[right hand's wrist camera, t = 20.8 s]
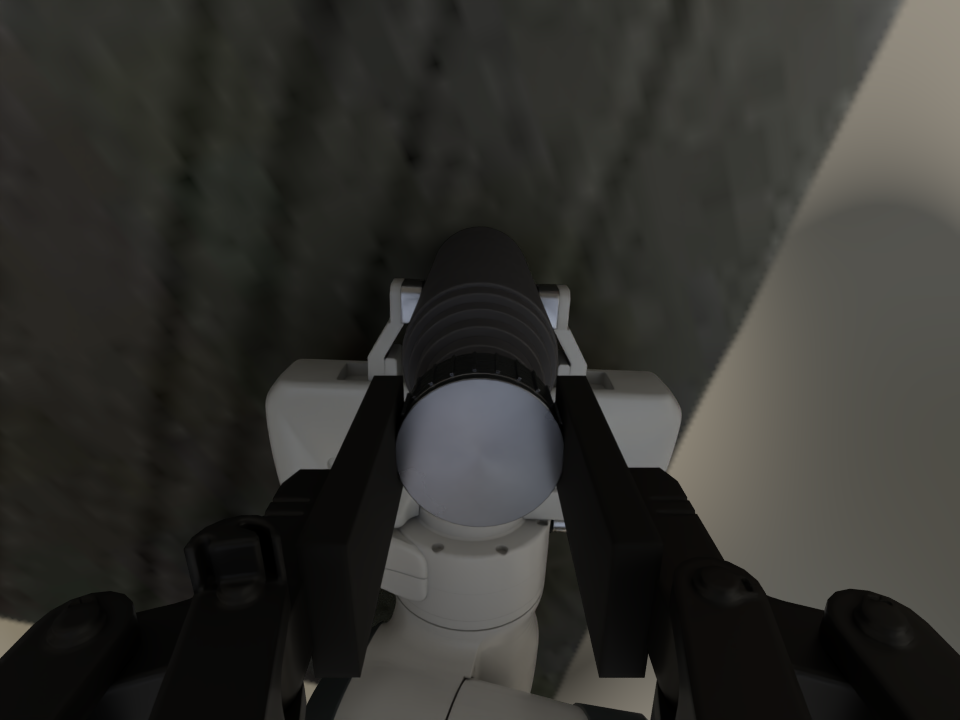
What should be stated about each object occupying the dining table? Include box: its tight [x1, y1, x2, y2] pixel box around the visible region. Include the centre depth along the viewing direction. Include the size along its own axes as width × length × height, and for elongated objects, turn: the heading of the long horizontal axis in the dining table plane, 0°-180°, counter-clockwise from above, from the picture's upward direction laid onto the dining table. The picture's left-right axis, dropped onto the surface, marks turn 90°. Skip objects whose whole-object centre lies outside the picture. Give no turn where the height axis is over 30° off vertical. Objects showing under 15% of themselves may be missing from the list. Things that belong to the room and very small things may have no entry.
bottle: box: [402, 227, 558, 393], centre depth 23 cm, size 5×5×20 cm
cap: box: [395, 352, 564, 527], centre depth 14 cm, size 4×4×2 cm
